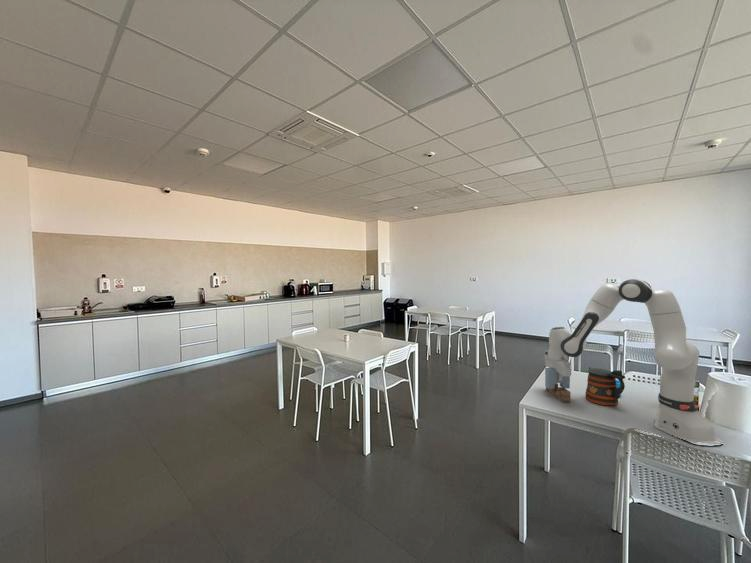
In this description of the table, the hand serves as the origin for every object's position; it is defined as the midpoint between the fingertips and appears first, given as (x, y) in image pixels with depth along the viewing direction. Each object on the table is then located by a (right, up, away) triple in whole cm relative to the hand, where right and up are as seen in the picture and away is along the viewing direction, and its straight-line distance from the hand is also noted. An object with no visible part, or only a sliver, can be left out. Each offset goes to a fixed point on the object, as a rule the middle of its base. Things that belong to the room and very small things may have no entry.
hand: (557, 378), depth 176 cm
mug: (+33, -10, +1) cm, 35 cm away
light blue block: (0, -5, 0) cm, 5 cm away
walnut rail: (0, -10, 0) cm, 10 cm away
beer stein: (+21, -10, -9) cm, 25 cm away
